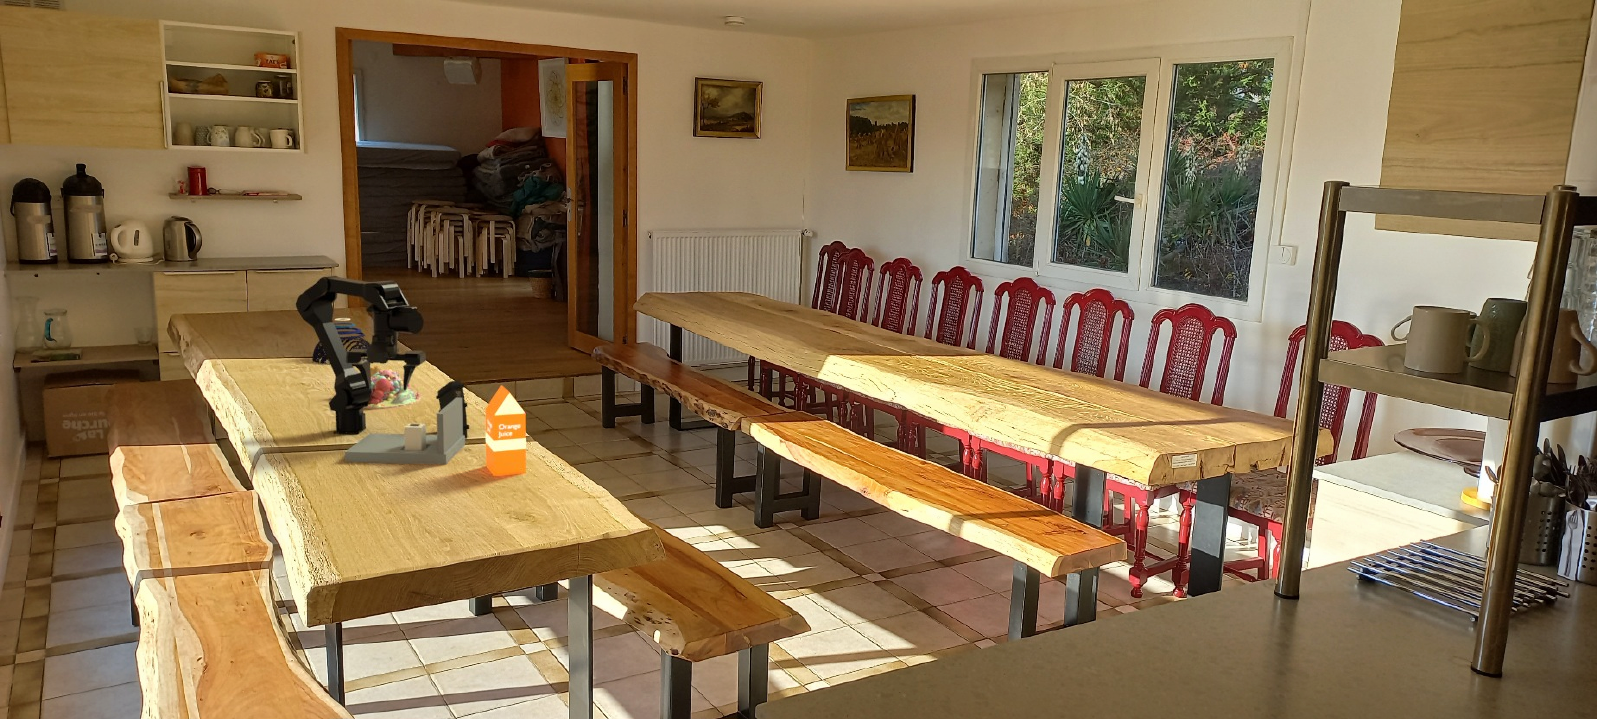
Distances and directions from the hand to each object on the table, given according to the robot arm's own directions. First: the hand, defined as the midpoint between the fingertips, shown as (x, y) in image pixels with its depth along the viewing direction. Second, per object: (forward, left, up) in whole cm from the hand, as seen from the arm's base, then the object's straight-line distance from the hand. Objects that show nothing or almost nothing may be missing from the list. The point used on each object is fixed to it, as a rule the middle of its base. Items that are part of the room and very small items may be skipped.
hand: (387, 389), depth 288 cm
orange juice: (+36, -26, -13) cm, 46 cm away
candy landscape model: (-17, +45, -14) cm, 50 cm away
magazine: (+15, +6, -13) cm, 21 cm away
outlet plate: (+9, -14, -13) cm, 21 cm away
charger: (+12, -17, -13) cm, 25 cm away
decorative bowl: (-49, +105, -13) cm, 116 cm away
